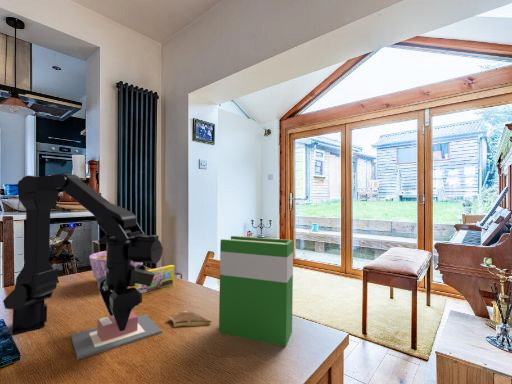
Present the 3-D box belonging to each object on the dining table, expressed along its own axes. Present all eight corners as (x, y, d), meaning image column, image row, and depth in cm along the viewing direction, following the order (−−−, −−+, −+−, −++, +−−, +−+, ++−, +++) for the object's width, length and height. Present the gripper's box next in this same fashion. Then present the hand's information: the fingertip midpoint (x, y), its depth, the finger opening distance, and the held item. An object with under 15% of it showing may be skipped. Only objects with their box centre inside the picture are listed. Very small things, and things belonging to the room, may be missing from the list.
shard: (211, 326, 72) (211, 319, 72) (188, 337, 66) (188, 330, 66) (187, 314, 79) (187, 308, 79) (164, 324, 73) (164, 317, 73)
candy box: (134, 298, 90) (134, 274, 90) (130, 297, 91) (131, 273, 91) (174, 286, 103) (174, 265, 103) (171, 285, 104) (171, 264, 104)
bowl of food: (106, 295, 92) (107, 262, 92) (78, 285, 102) (78, 255, 103) (155, 280, 109) (155, 252, 109) (126, 272, 119) (127, 247, 120)
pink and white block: (137, 330, 67) (137, 316, 67) (102, 341, 62) (102, 326, 62) (131, 323, 71) (131, 309, 71) (97, 333, 66) (97, 318, 66)
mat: (77, 359, 56) (77, 357, 56) (70, 336, 65) (71, 334, 65) (161, 332, 68) (161, 330, 68) (146, 316, 77) (146, 314, 77)
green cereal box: (218, 333, 68) (220, 239, 68) (230, 320, 75) (232, 235, 76) (285, 346, 62) (287, 244, 63) (292, 331, 69) (293, 240, 70)
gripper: (164, 263, 65) (163, 327, 65) (140, 251, 79) (139, 303, 79) (114, 271, 58) (112, 343, 57) (97, 256, 72) (96, 313, 72)
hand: (117, 323), depth 66 cm, fingers open, 9 cm apart
